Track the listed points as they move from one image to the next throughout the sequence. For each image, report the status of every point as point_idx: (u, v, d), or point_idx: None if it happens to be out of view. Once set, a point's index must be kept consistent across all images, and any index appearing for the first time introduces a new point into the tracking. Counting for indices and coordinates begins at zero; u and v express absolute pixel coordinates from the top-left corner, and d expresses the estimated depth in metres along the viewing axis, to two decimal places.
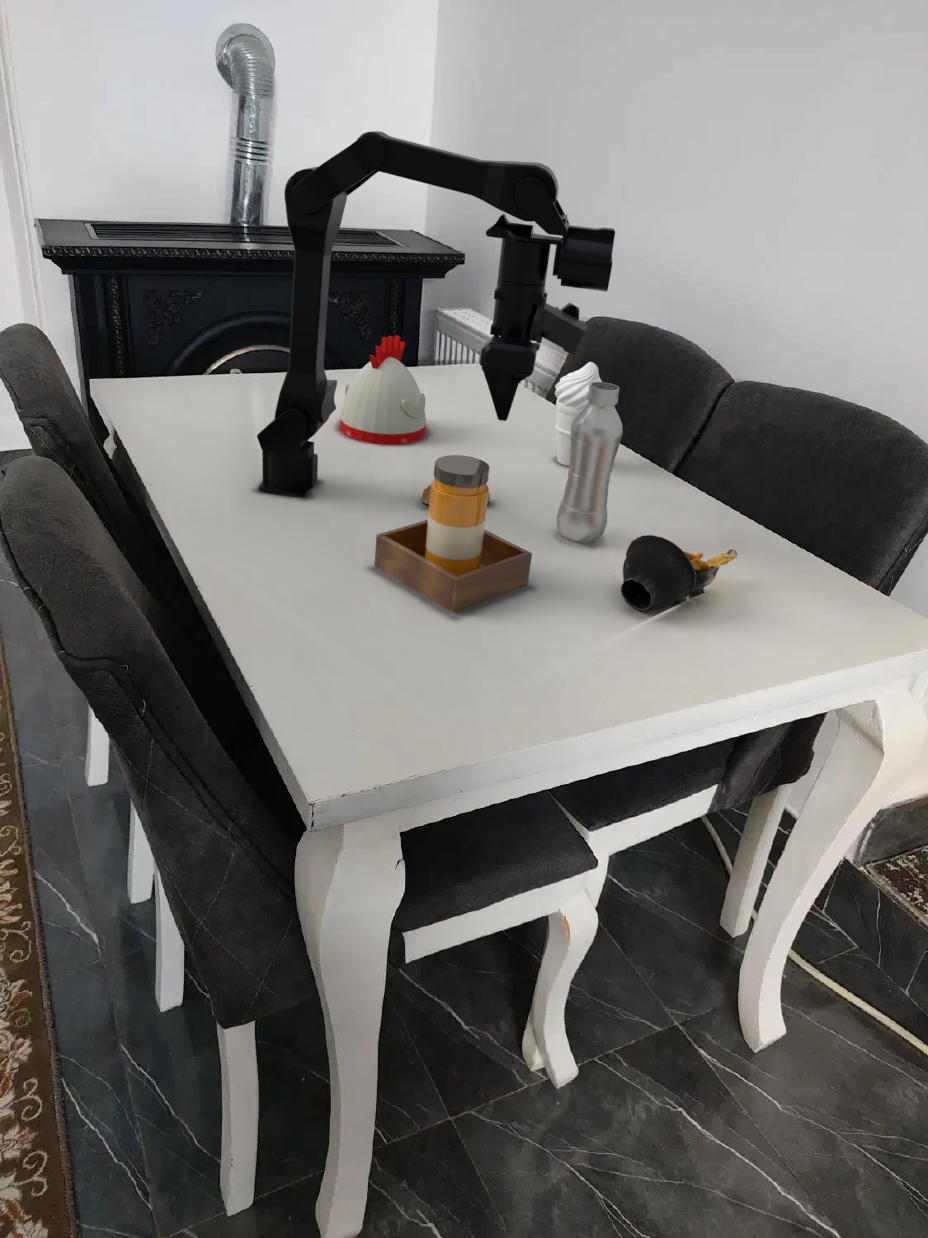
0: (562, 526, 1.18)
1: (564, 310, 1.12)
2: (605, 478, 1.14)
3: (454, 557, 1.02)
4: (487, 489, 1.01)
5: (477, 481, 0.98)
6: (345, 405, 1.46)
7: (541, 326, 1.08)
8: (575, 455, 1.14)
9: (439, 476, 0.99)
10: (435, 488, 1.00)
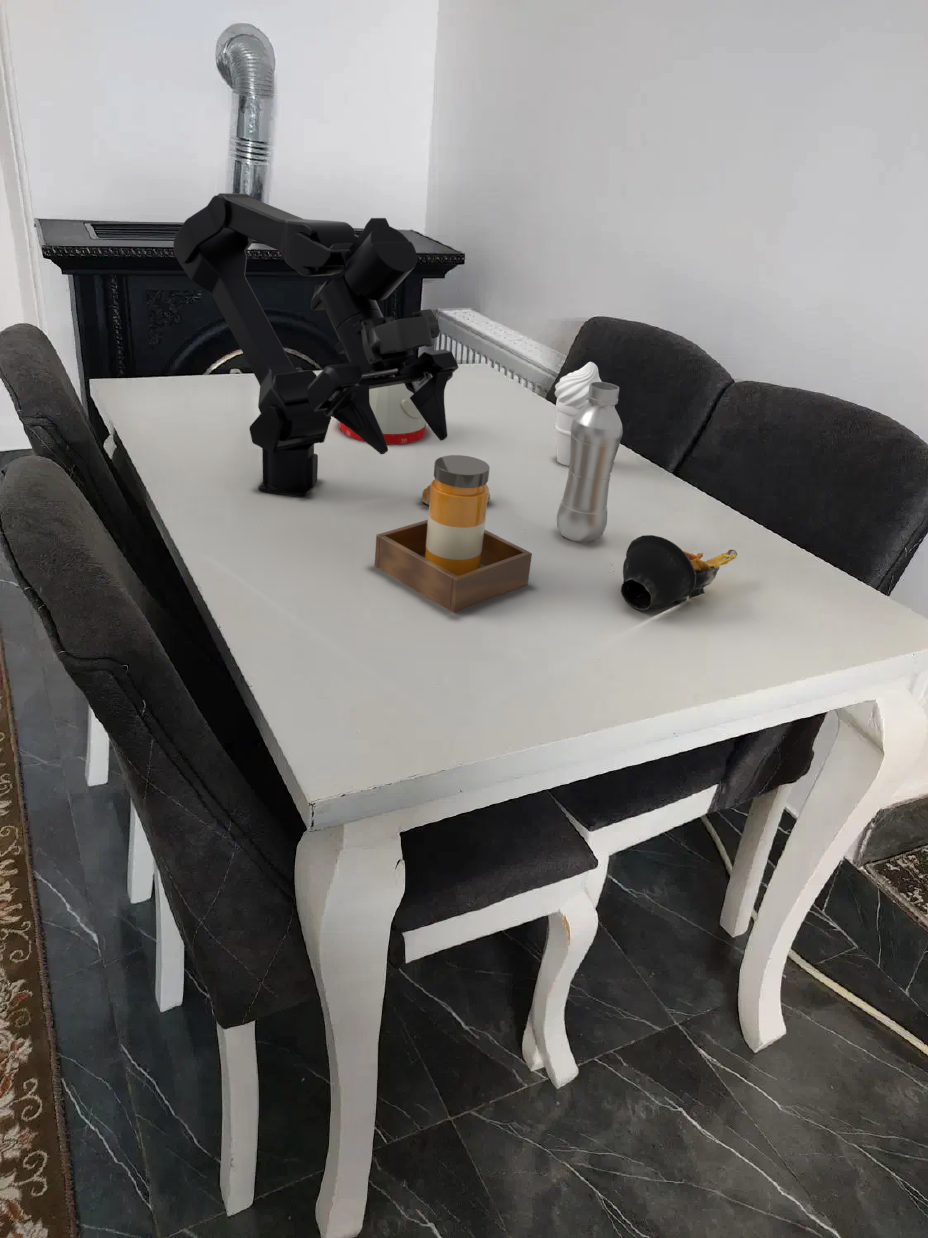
0: (562, 526, 1.18)
1: None
2: (605, 478, 1.14)
3: (454, 557, 1.02)
4: (487, 489, 1.01)
5: (477, 481, 0.98)
6: None
7: (369, 345, 1.01)
8: (575, 455, 1.14)
9: (439, 476, 0.99)
10: (435, 488, 1.00)
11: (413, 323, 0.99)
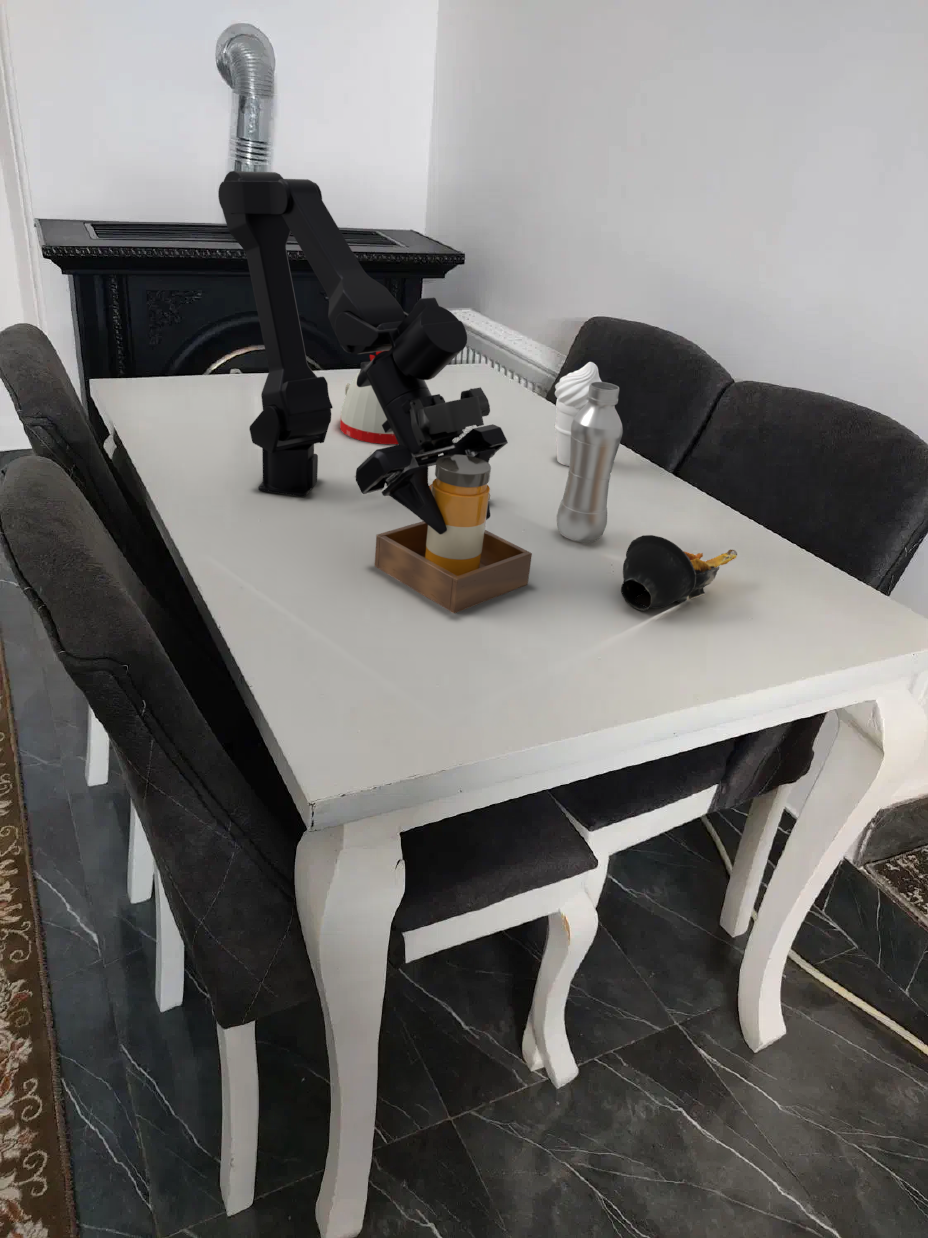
0: (562, 526, 1.18)
1: (461, 399, 1.01)
2: (605, 478, 1.14)
3: (454, 556, 1.02)
4: (488, 489, 1.01)
5: (478, 481, 0.98)
6: (345, 405, 1.46)
7: (418, 426, 0.99)
8: (575, 455, 1.14)
9: (440, 475, 0.99)
10: (436, 487, 1.00)
11: (464, 404, 0.96)
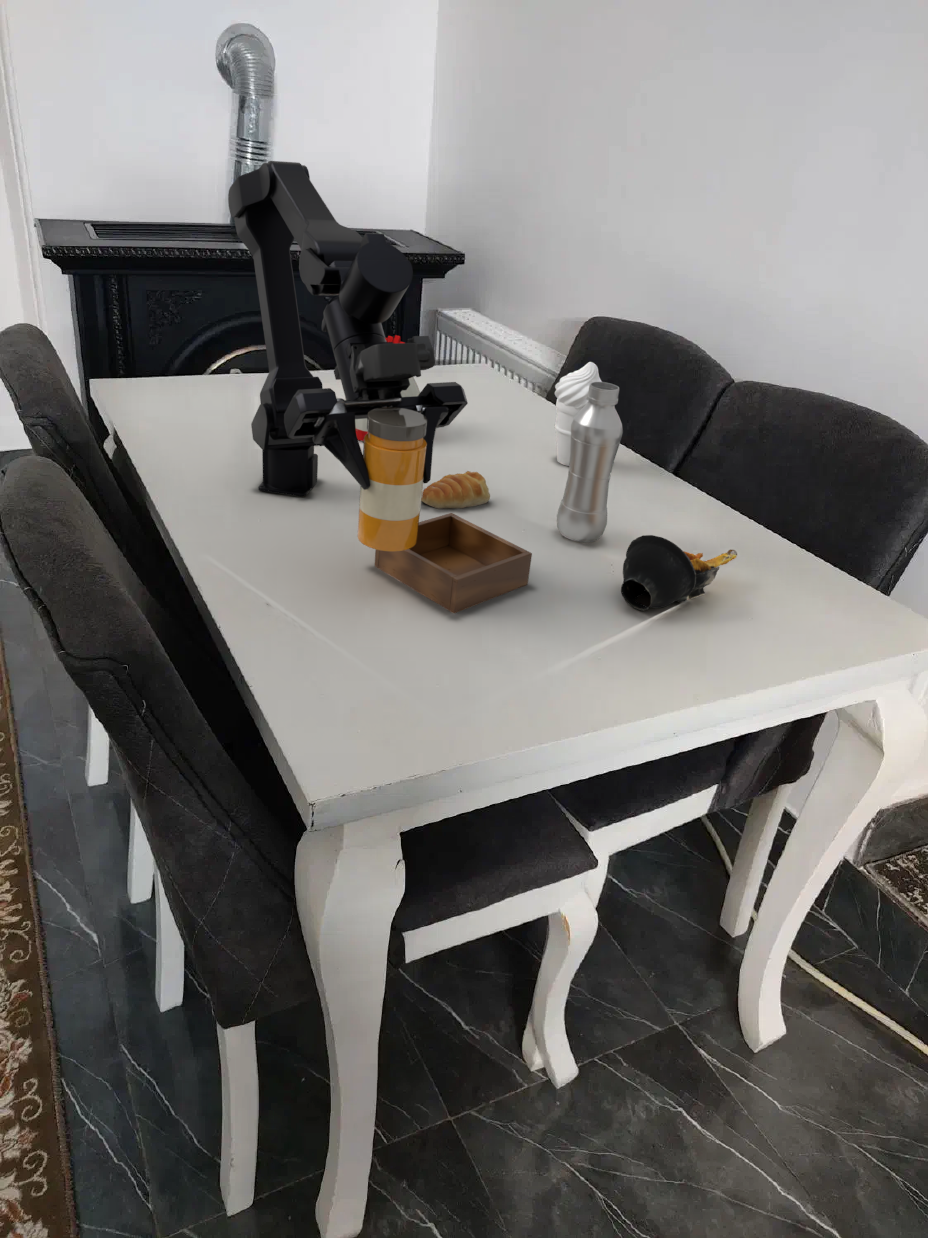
0: (562, 526, 1.18)
1: None
2: (605, 478, 1.14)
3: (379, 516, 0.94)
4: (422, 447, 0.93)
5: (404, 435, 0.90)
6: None
7: (354, 371, 0.92)
8: (575, 455, 1.14)
9: (368, 425, 0.92)
10: (366, 439, 0.93)
11: (395, 349, 0.89)
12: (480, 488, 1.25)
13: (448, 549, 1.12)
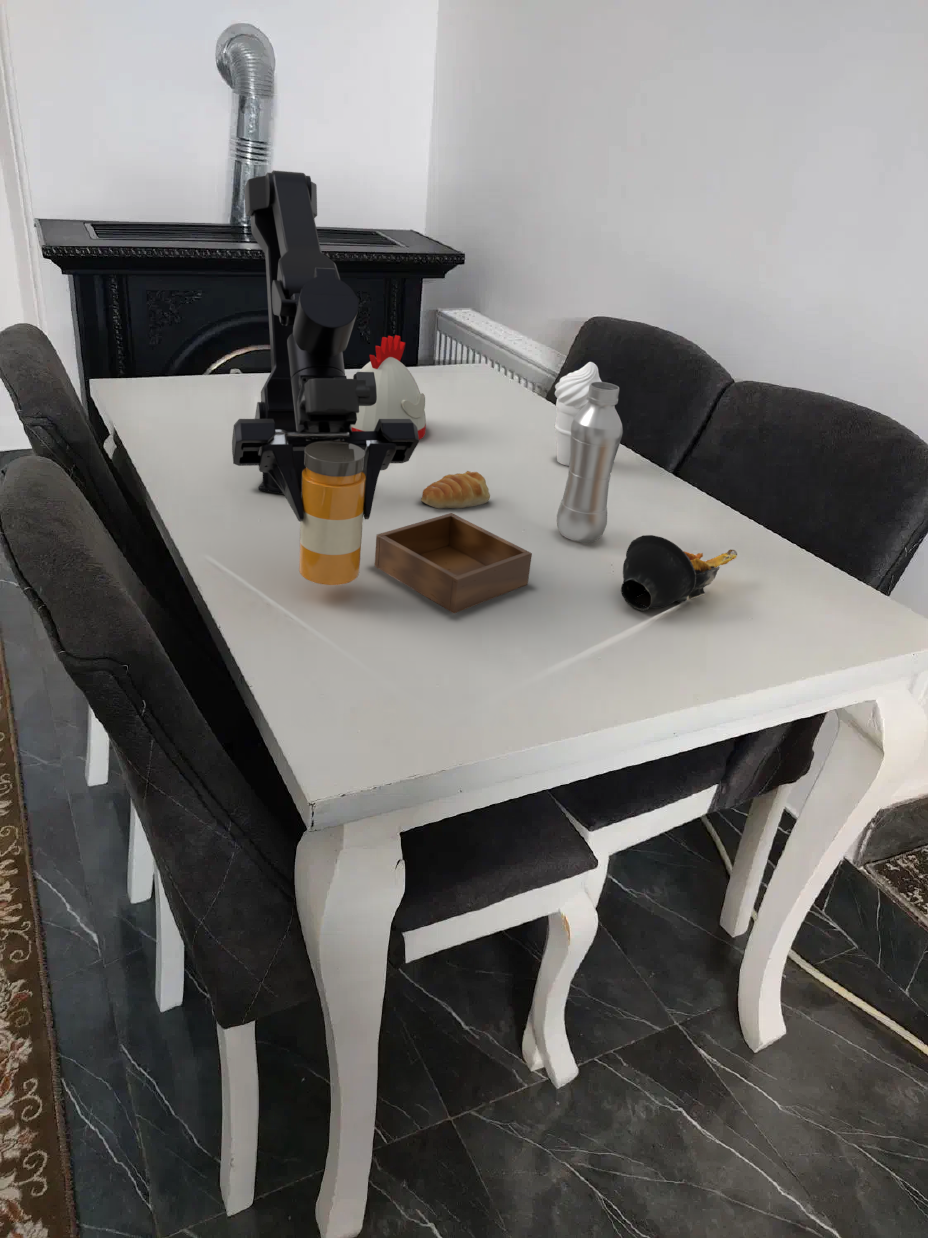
0: (562, 526, 1.18)
1: None
2: (605, 478, 1.14)
3: (313, 549, 0.94)
4: (357, 483, 0.92)
5: (334, 470, 0.89)
6: None
7: (299, 403, 0.93)
8: (575, 455, 1.14)
9: (304, 458, 0.91)
10: (304, 471, 0.93)
11: (331, 384, 0.88)
12: (480, 488, 1.25)
13: (448, 549, 1.12)
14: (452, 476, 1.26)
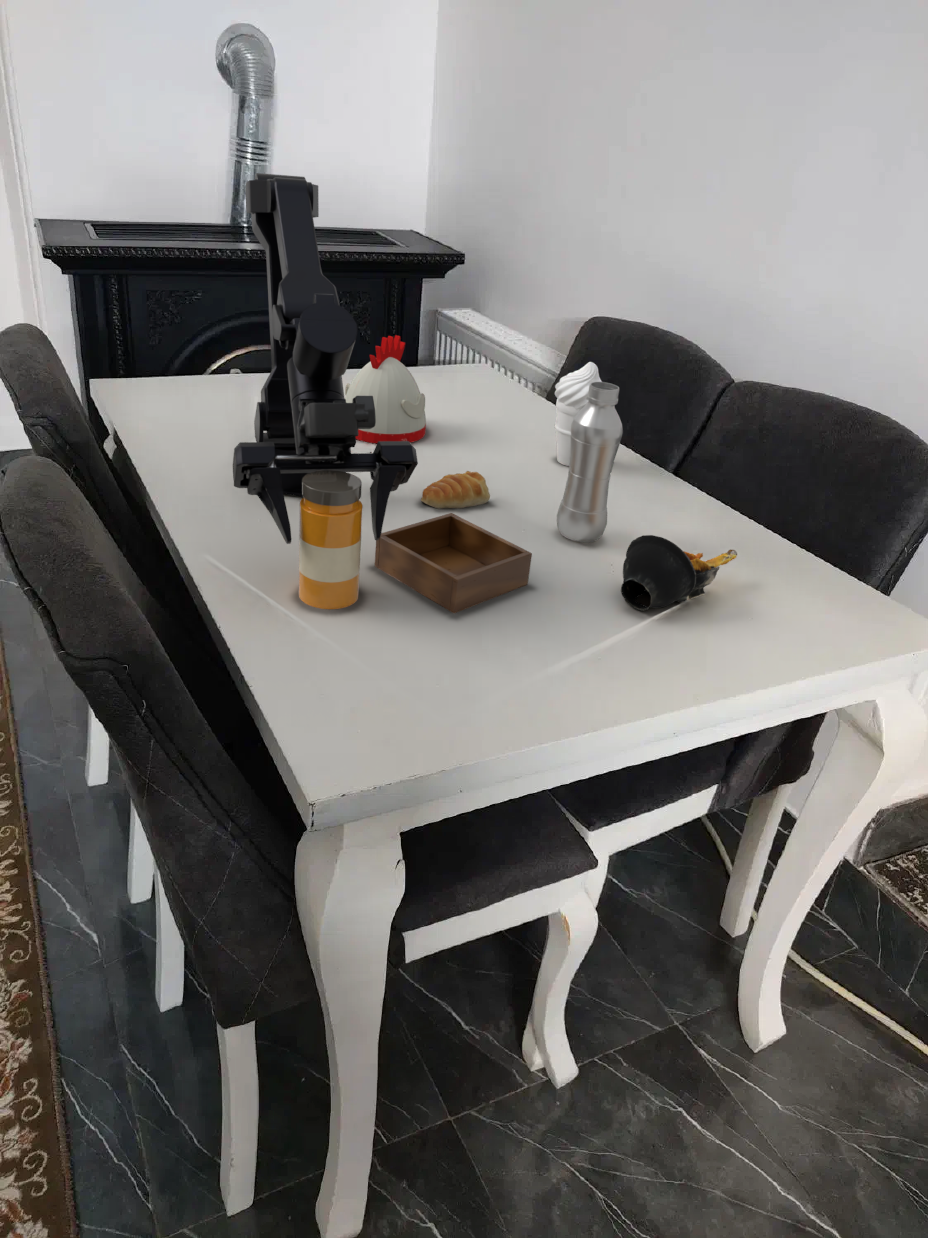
0: (562, 526, 1.18)
1: None
2: (605, 478, 1.14)
3: (312, 577, 0.95)
4: (354, 512, 0.93)
5: (331, 500, 0.91)
6: None
7: (298, 426, 0.94)
8: (575, 455, 1.14)
9: None
10: (302, 500, 0.94)
11: (330, 409, 0.89)
12: (480, 488, 1.25)
13: (448, 549, 1.12)
14: (452, 476, 1.26)
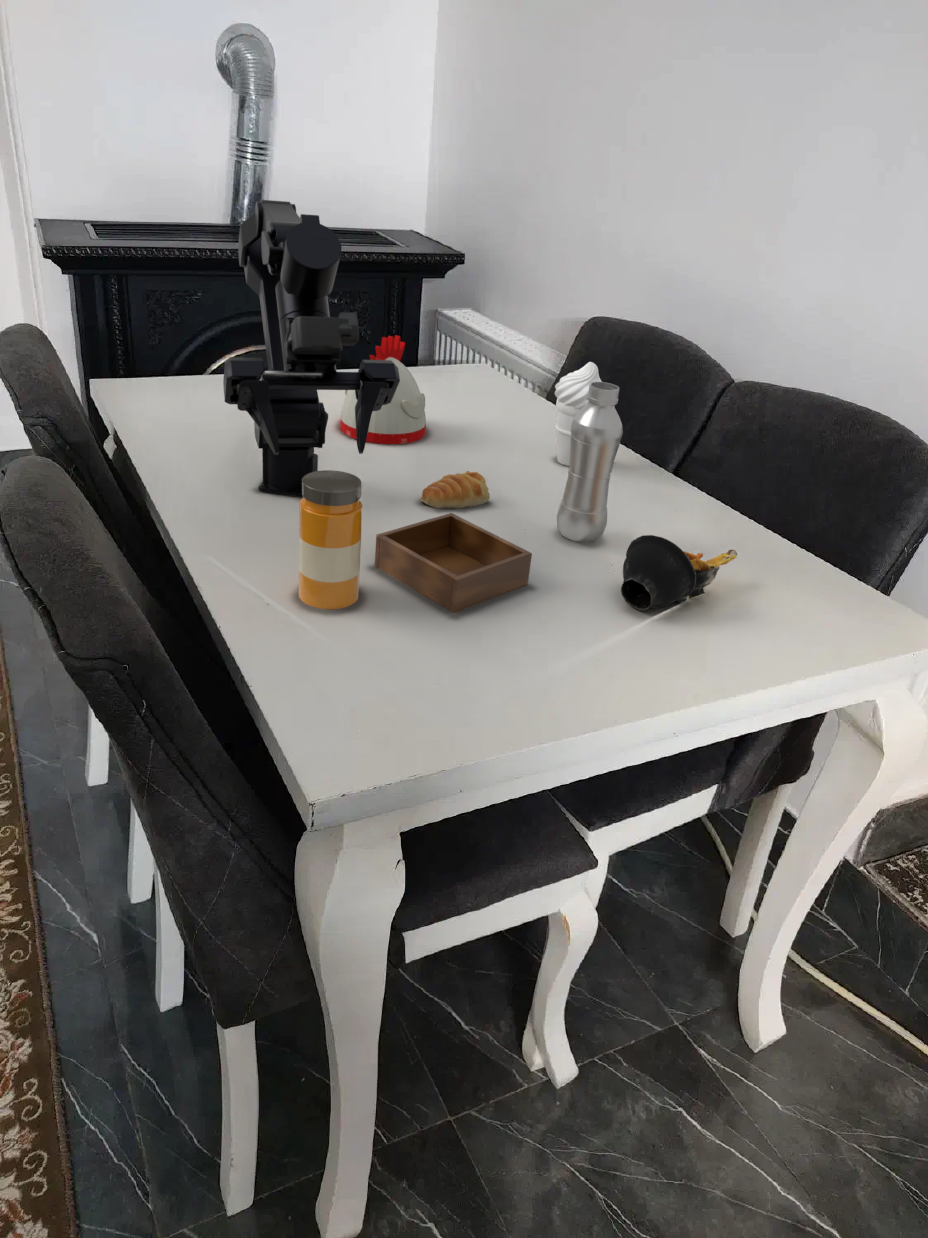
0: (562, 526, 1.18)
1: None
2: (605, 478, 1.14)
3: (312, 577, 0.95)
4: (354, 512, 0.93)
5: (331, 500, 0.91)
6: (345, 405, 1.46)
7: (286, 343, 0.98)
8: (575, 455, 1.14)
9: None
10: (302, 500, 0.94)
11: (315, 322, 0.94)
12: (480, 488, 1.25)
13: (448, 549, 1.12)
14: (452, 476, 1.26)
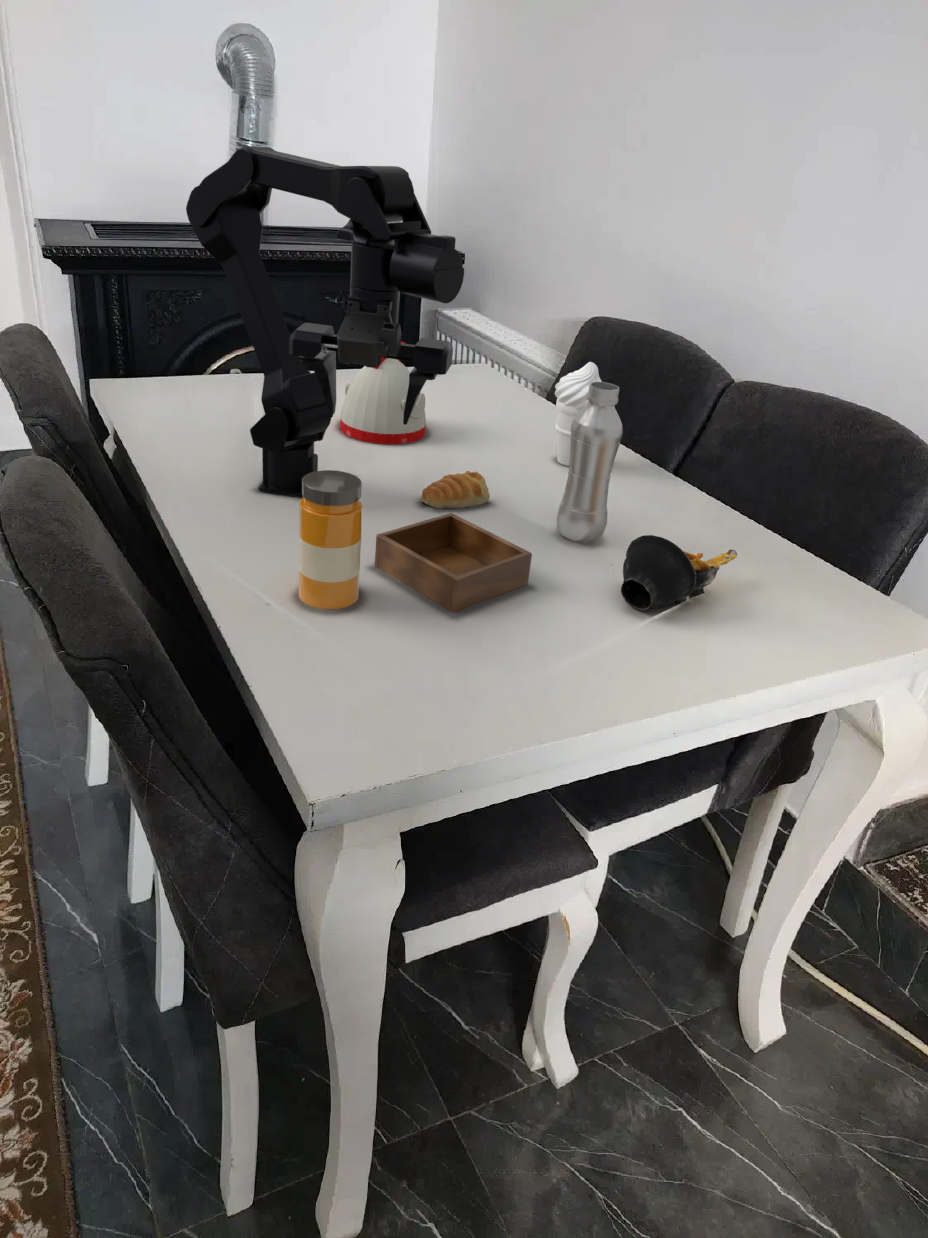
0: (562, 526, 1.18)
1: (384, 327, 1.02)
2: (605, 478, 1.14)
3: (312, 577, 0.95)
4: (354, 512, 0.93)
5: (331, 500, 0.91)
6: (345, 405, 1.46)
7: None
8: (575, 455, 1.14)
9: None
10: (302, 500, 0.94)
11: (353, 346, 1.01)
12: (480, 488, 1.25)
13: (448, 549, 1.12)
14: (452, 476, 1.26)
